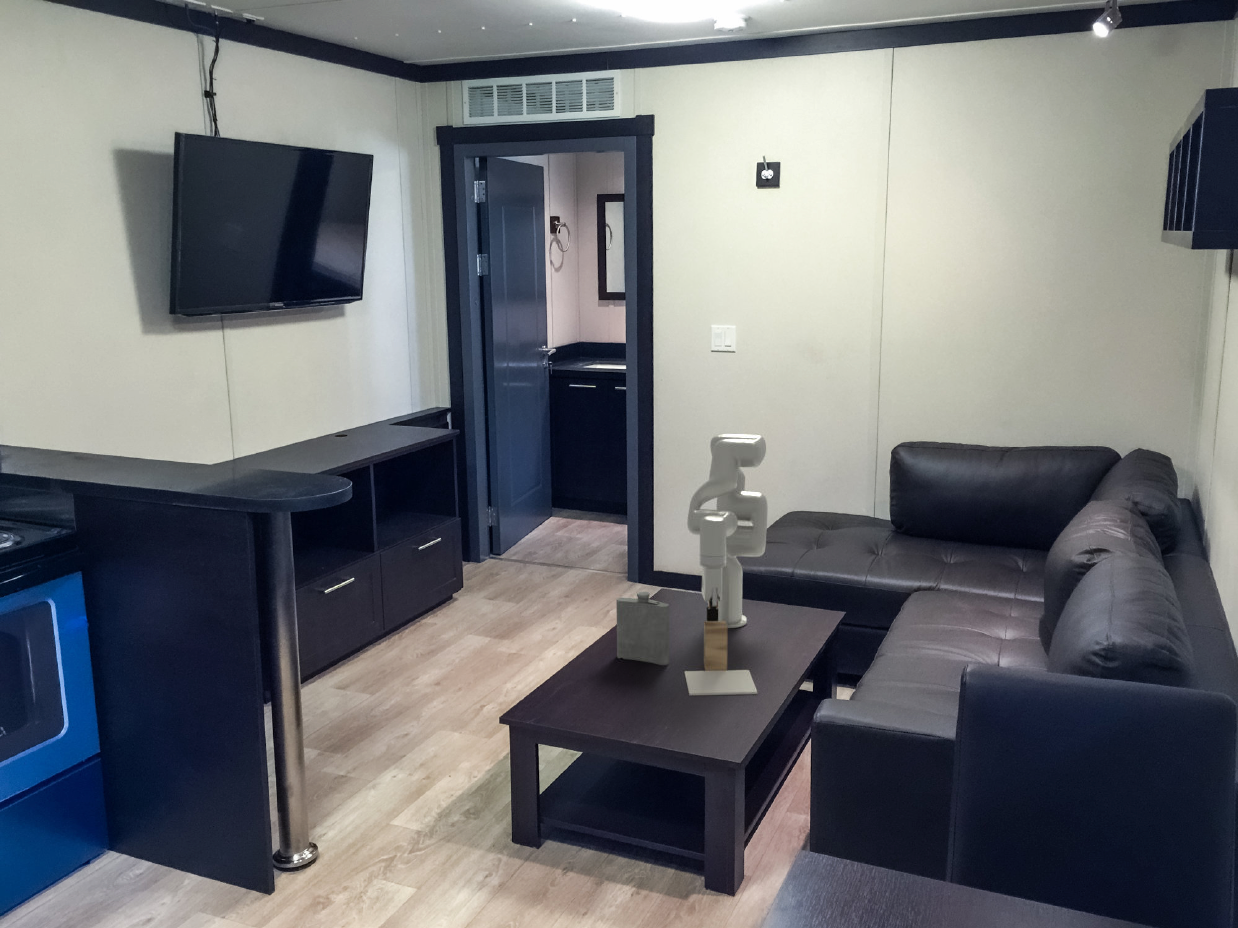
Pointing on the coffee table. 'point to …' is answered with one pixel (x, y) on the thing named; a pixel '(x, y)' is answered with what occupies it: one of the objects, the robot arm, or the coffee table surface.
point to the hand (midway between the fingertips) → (712, 620)
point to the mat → (720, 682)
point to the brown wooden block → (715, 645)
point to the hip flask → (643, 629)
